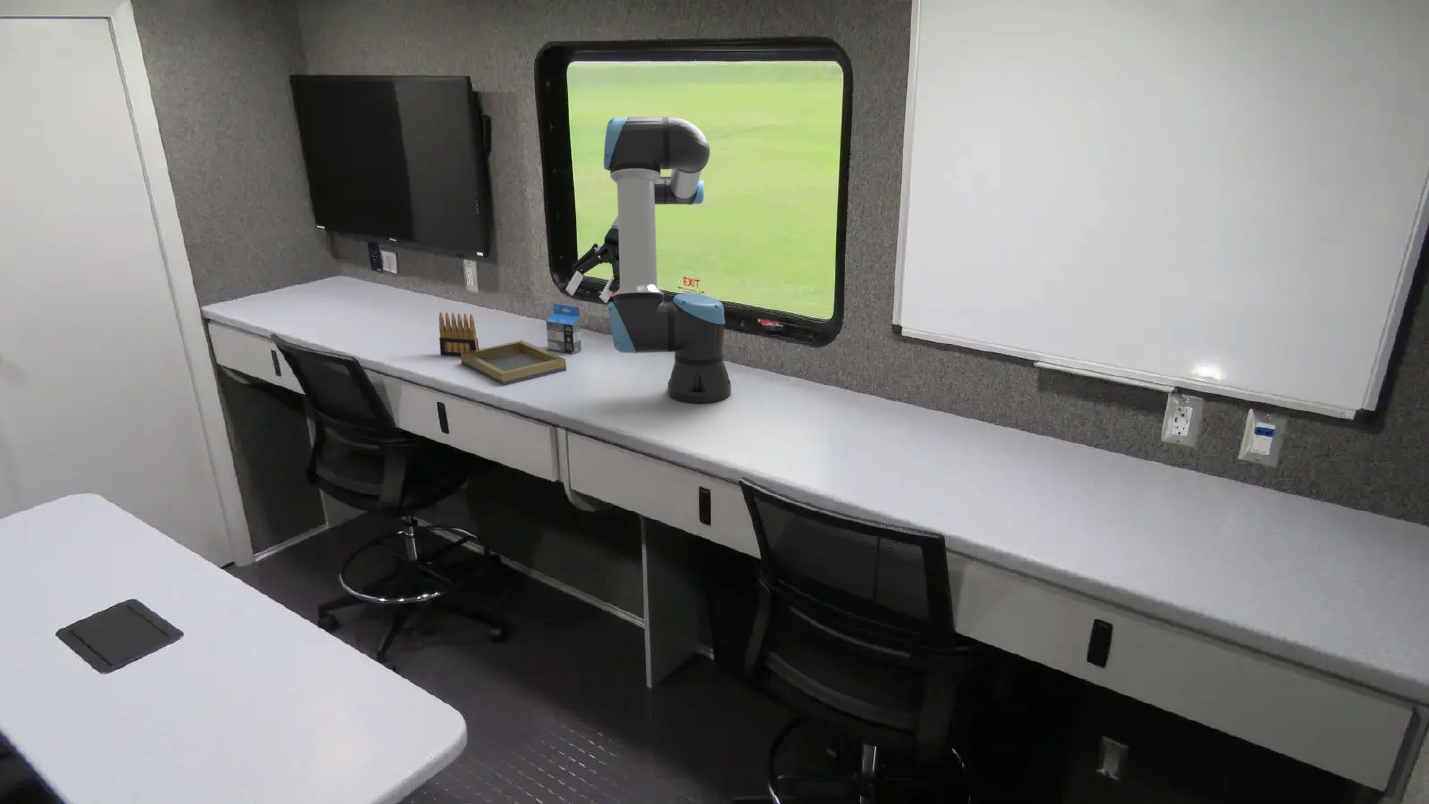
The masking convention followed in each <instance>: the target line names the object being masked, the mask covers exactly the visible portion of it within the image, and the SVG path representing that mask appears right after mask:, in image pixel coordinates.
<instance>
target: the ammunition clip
mask: <svg viewBox="0 0 1429 804" xmlns="http://www.w3.org/2000/svg"><path fill="white" fill-rule="evenodd" d="M438 320H439V321H438V322H439V323H438V324H439V325H438V328H439V329H438V330H439V338H438V339H439V349H440V350H439V352H440V353H439V354H440V356H442V357H455V358H461V353H464V352H469V351H474V350H478V349H480V348H479V340H478V339H479V338H478V337H477V330H476V326H475V325H476V324H475V319H474V316H473V313H470V315H469V319H468V316H467V314H466V313H464V314H463V319H462V315H461V313H460V312H458V313H457V319H456V315H455V313H454V312H452V313H451V319H450V315H449V313H448V311H446V312H445V318H444V315H443V313H442V311H440V312H439V315H438Z"/></svg>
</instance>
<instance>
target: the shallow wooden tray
mask: <svg viewBox="0 0 1429 804" xmlns="http://www.w3.org/2000/svg"><path fill="white" fill-rule="evenodd" d="M460 359H461V364H462V366H464V367H467V368H468V369H469V370H470V369H471V370H473V372H476V373H477V374H480V375H482V376H484V377H486V378H487V379H490V380H491V381H493V382H496V383H497V384H500V385H502V386H503V385H504V386H507V385H512V384H515V383H519V382H523V381H527V380H531V379H536V378H540V377H544V376H548V375H553V374H556V373H561V372H564V371H567V360H566V358H564V357H561V356H559V355H557V354H556V353H552V352H550V351H549V350H548V351H547V350H546V349H543V348H540V347H538V346H537V345H534V344H532V343H530V342H527V341H525V340H518V341H512V342H508V343H503V344H499V345H493V346H489V347H485V348H479V349H478V350H474V351H469V352H464V353H461V357H460Z"/></svg>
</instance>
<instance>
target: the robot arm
mask: <svg viewBox="0 0 1429 804" xmlns="http://www.w3.org/2000/svg"><path fill="white" fill-rule="evenodd" d="M603 148H604V152H603V168H604V170H606V171H609V173H610V175H609V176H610V179H611V180H612V181H613V182H614V183H615V184H616V185H617V186H616V189H617V215H616V217H615V219H614V221H613V222H612V224H611V225H610V228H609V230H608V231H607V233H605V236H604V239H603V240H604V241H603V242H604V243H603V244H602V245H601V246H600V245H598V243H595V242H594V244H592V246H591V248H590V249H589V250H588V251H587V252H586V253H585V254H583V255H582V256H581V257H580V258H579V259H577V261H576V262H575V263H573V264H572V266H571V268H572V269H573V270H574V273H573V274H572V276H571V278H570V281H569V282H568V284H567V287H566V288H565V291H566V292H567V293H568V294H569V295H570V296H574V294H575V293H576V291H577V290H578V289H577V288H578V287H579V285H580V284H581V282H582V280H583V278H584V274H586V273H587V272H589V271H590V270H592V269H594V268H595V267H597V266H598V265H602V264H603V263H604V264H609V265H611V268H612V269H611V270H612V274H613V275H611V276H612V277H610V278H609V279H608V281H607V283H606V285H605V286H604V288H603V290H602V291H601V293H600V295H599V298H600V299H601V301H603V302H604V304H607V311H608V317H609V323H610V324H609V325H610V330H611V335H612V342H613V346H614V348H615V350H616V351H617V352H619V353H623V354H624V353H626V354H629V353H631V354H634V355H635V354H640V353H645V354H647V353H649V354H650V353H674V363H673V367H672V370H671V373H670V378H669V380H668V381H667V394H668V396H669V397H670V398H672V399H673V400H674V399H675V400H676V401H680V402H685V403H691V404H708V403H709V404H710V403H714V402H715V403H716V402H718V401H722V400H725V399H727V398H728V397H730V396H731V394H732V382H731V380H730V377H729V373H728V370H727V367H726V365H725V356H724V355H725V324H726V320H725V308H724V305H723V303H722V302H721V301H720V300H719V299H716V298H715V297H711V296H708V295H705V294H697V293H677V294H675V296H674V297H673V299H672V300H673V301H665V293H664V292H663V291H662V290H661V289H660V288H659V287H658V275H657V274H658V272H657V270H658V269H657V265H658V263H657V238H656V237H657V236H656V232H657V231H656V205H688V206H690V205H691V206H692V205H700V204H702V203H703V201H704V196H705V183H704V182H705V181H704V180H703V181H702V180H701V181H699V179H700V177H701V174H702V171H703V169H704V168H705V167H706V166H707V164H708V162H709V160H710V155H711V148H710V144H709V141H708V138H707V137H706V136H705V134H704V132H703V131H702V130H701V129H700V128H699V127H697V126H696V125H695V124H693V123H692V122H690V121H688V120H686V119H683V118H681V117H675V116H667V117H666V116H630V115H628V116H620V117H613V118H610V120H608V123H607V126H606V131H605V140H604V147H603ZM661 170H671V175H670V176H661V173H662V172H661ZM618 286H619V287H618ZM617 288H618V289H617ZM614 292H615V293H614ZM612 294H613V301H610V302H609V299H611V296H612Z"/></svg>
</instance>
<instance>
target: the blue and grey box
mask: <svg viewBox="0 0 1429 804" xmlns="http://www.w3.org/2000/svg"><path fill="white" fill-rule="evenodd" d="M552 305H553V307H552V308H553V312H552V313H551V315H549V317H548V318H547V320H546V337H547V339H546V340H547V349H548V351H556V352H560V353H561V352H562V353H565V354H566V353H568V354H572V355H574V354H577V353H579V352H581V351H582V341H581V340H582V339H581V318H580V307H579V306H572V305H571V306H570V305H567V304H566V305H565V304H558V303H553V304H552ZM563 310H567V311H563Z"/></svg>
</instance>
